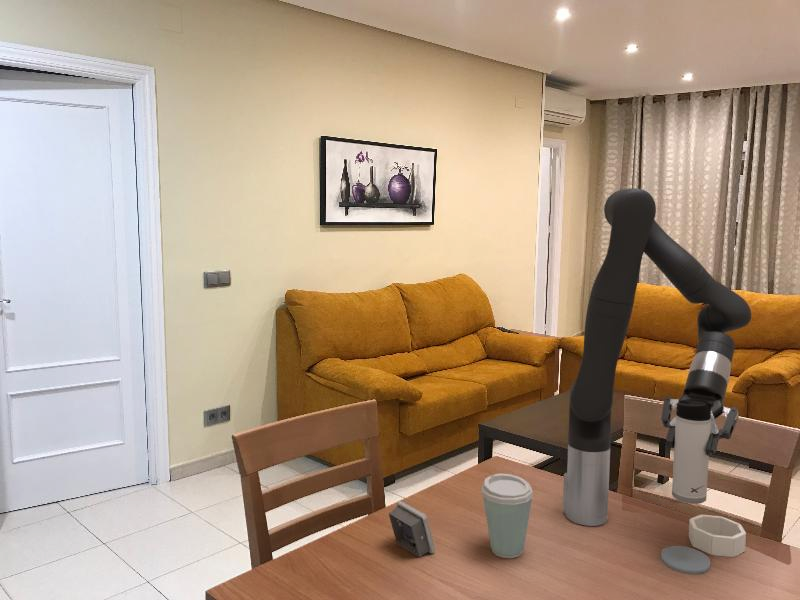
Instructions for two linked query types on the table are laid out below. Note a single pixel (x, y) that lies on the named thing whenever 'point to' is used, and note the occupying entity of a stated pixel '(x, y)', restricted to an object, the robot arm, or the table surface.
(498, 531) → the disposable coffee cup
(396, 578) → the table surface
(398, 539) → the electrical switch
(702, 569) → the coaster
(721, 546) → the collar
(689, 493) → the travel mug
